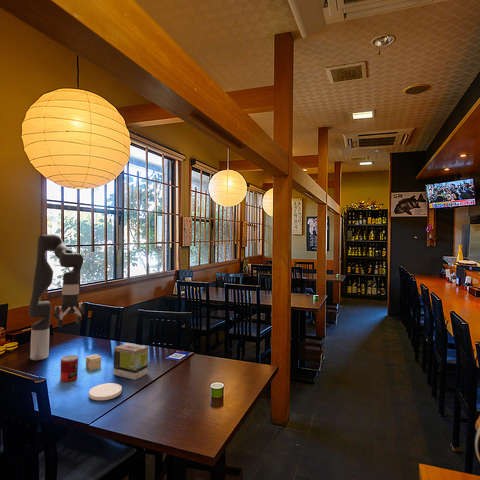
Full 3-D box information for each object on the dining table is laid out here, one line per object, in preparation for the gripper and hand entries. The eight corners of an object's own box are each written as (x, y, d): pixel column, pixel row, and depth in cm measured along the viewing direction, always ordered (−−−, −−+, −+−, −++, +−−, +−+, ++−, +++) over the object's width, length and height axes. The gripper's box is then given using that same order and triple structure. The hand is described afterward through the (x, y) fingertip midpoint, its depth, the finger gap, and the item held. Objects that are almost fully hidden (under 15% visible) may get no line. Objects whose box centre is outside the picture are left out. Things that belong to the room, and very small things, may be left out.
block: (85, 367, 181) (86, 356, 181) (96, 364, 185) (97, 354, 185) (89, 370, 176) (90, 359, 176) (100, 367, 181) (101, 356, 181)
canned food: (70, 383, 160) (71, 361, 160) (56, 381, 161) (57, 359, 161) (81, 377, 167) (81, 355, 167) (67, 375, 169) (68, 354, 169)
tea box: (147, 373, 174) (148, 346, 174) (134, 380, 165) (135, 351, 165) (126, 368, 180) (127, 341, 181) (112, 374, 171) (113, 346, 171)
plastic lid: (124, 398, 147) (124, 392, 147) (90, 405, 140) (90, 399, 140) (118, 386, 159) (119, 381, 159) (87, 392, 152) (87, 386, 152)
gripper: (80, 290, 171) (79, 321, 171) (52, 293, 160) (50, 326, 160) (88, 292, 167) (86, 323, 167) (59, 295, 156) (57, 329, 155)
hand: (69, 325), depth 163 cm, fingers open, 8 cm apart
